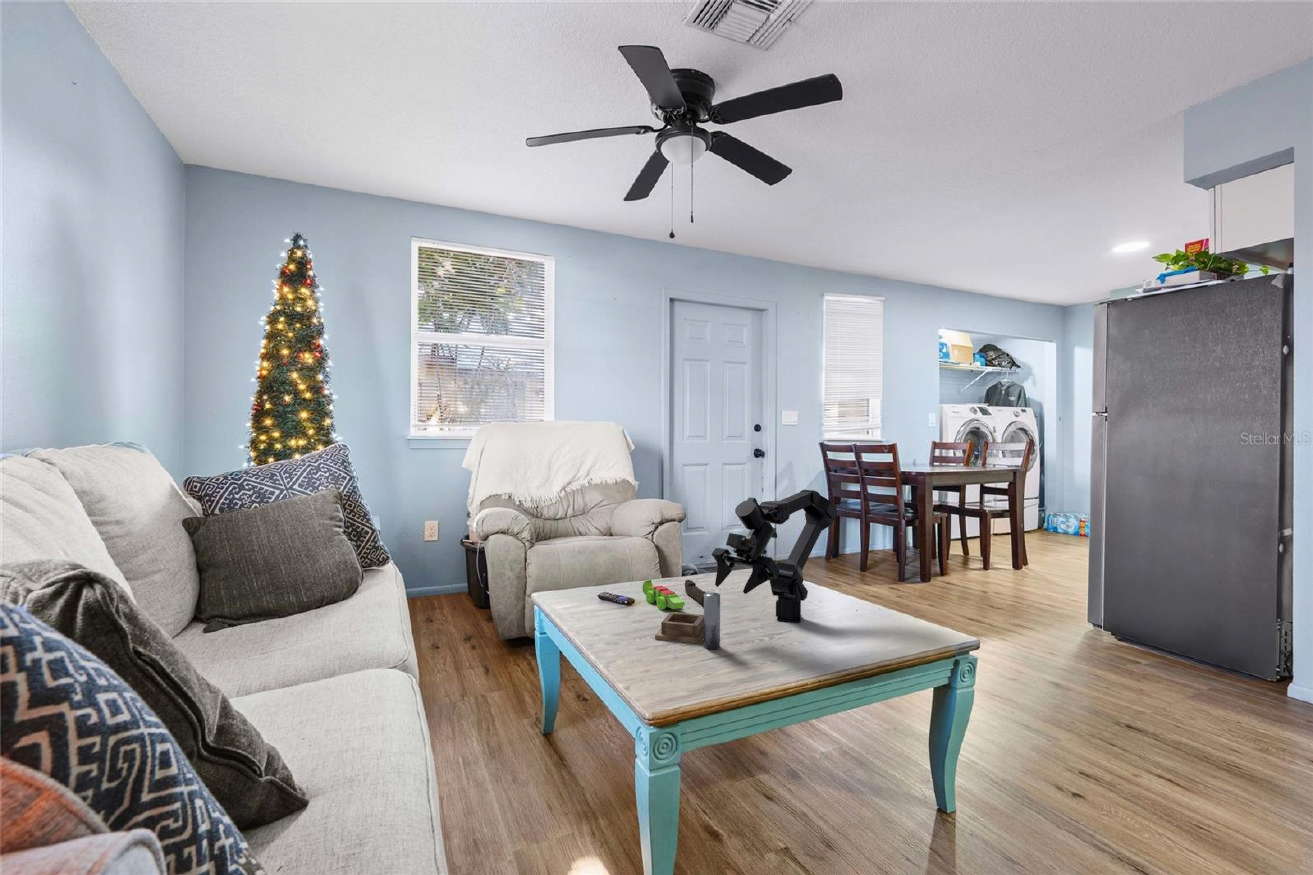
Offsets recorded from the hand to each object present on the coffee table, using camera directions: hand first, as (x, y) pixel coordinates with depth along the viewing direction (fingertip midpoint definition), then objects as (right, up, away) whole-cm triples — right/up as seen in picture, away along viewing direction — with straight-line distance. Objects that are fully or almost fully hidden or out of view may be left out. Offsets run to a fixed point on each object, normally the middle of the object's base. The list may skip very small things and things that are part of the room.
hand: (729, 589), depth 152 cm
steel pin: (-5, -13, -5) cm, 15 cm away
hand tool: (-6, -13, +38) cm, 41 cm away
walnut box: (-12, -13, +5) cm, 18 cm away
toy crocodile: (-17, -13, +32) cm, 38 cm away
